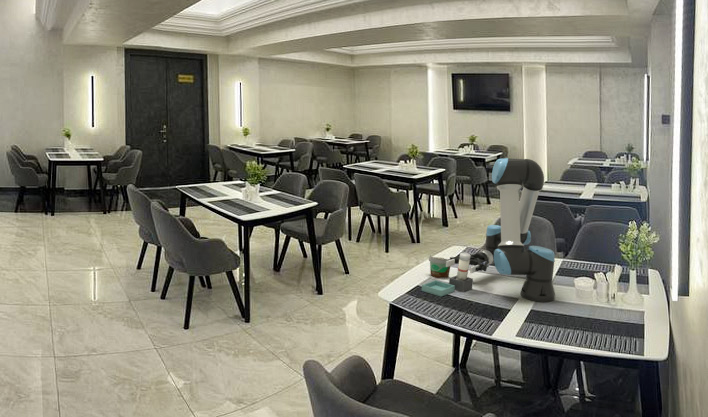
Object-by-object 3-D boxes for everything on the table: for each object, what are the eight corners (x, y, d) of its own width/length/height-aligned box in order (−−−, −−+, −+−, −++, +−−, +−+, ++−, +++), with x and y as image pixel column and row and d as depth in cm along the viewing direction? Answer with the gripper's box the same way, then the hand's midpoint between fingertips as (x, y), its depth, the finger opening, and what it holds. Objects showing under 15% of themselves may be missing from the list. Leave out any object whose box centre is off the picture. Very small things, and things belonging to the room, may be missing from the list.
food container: (424, 276, 297) (425, 257, 295) (428, 273, 303) (429, 254, 301) (447, 280, 292) (448, 261, 290) (451, 277, 297) (452, 258, 295)
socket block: (472, 288, 280) (472, 278, 279) (463, 292, 274) (463, 282, 274) (457, 284, 286) (458, 274, 285) (448, 288, 280) (449, 278, 279)
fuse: (468, 284, 280) (472, 254, 276) (462, 286, 276) (467, 257, 272) (458, 281, 283) (463, 251, 279) (453, 283, 279) (458, 253, 275)
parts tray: (454, 291, 275) (454, 285, 275) (441, 296, 267) (441, 290, 267) (435, 285, 283) (435, 280, 282) (421, 290, 275) (421, 285, 274)
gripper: (504, 272, 284) (481, 281, 269) (460, 261, 300) (436, 269, 285) (505, 257, 282) (482, 265, 267) (461, 247, 299) (437, 254, 284)
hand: (458, 267), depth 276 cm, fingers open, 13 cm apart
